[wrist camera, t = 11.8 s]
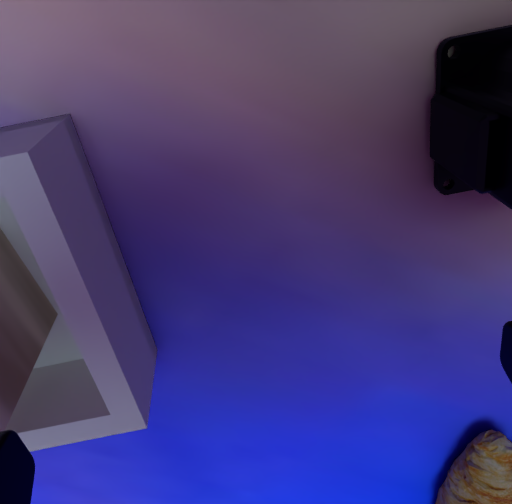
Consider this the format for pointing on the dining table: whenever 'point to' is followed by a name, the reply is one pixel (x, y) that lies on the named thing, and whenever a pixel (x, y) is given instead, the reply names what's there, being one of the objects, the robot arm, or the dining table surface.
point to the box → (73, 293)
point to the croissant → (480, 472)
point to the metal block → (19, 327)
